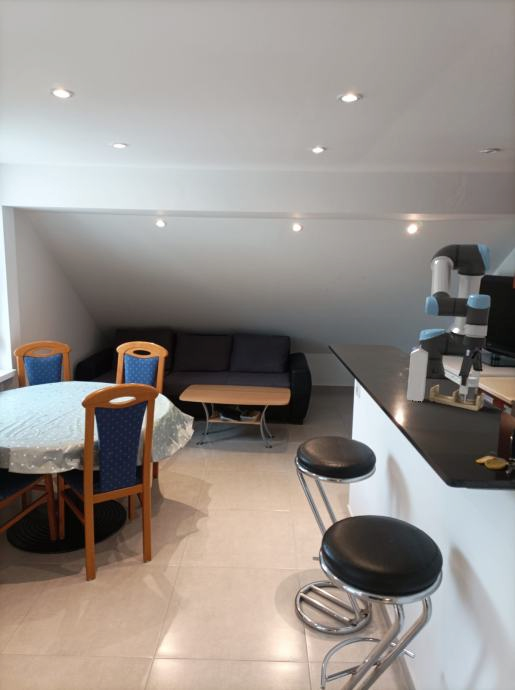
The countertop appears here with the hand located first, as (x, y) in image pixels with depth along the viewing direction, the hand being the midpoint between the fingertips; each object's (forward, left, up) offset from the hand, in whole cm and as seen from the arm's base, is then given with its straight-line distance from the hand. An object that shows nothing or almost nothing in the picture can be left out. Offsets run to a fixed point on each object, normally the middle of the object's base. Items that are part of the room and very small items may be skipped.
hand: (468, 390), depth 173 cm
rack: (0, -4, -6) cm, 7 cm away
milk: (+6, -18, -6) cm, 20 cm away
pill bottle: (0, 0, -5) cm, 5 cm away
